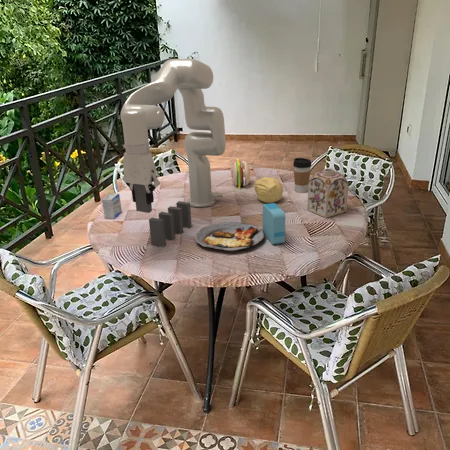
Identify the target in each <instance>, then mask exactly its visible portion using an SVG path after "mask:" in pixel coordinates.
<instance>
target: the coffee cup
mask: <svg viewBox="0 0 450 450" xmlns="http://www.w3.org/2000/svg"><path fill="white" fill-rule="evenodd" d="M292 167H293V177H294V178H293V179H294V191H295V193H299V194H302V193H308V186H309V180H310V178H311V168H312V161H311V159H308V158H304V157H296V158H294V160H293V164H292Z"/></svg>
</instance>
